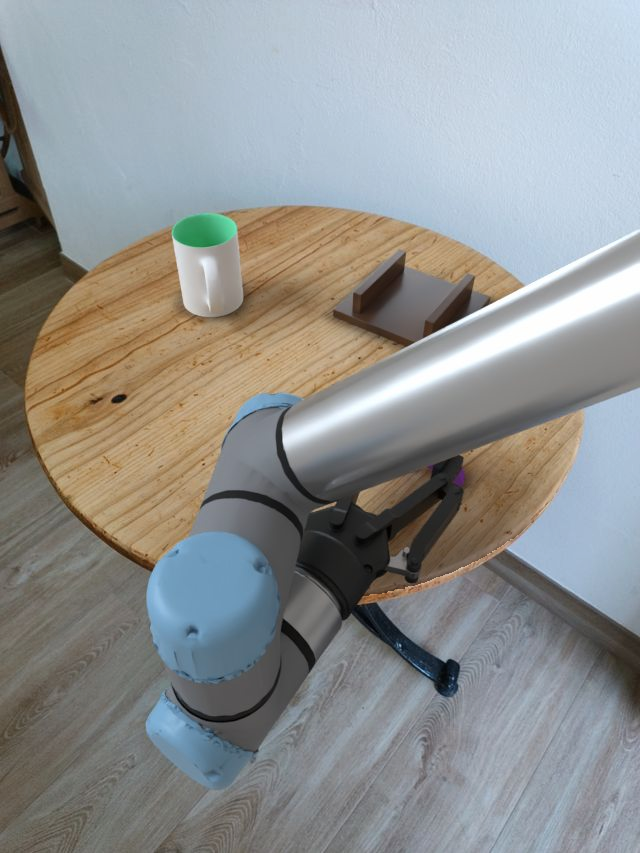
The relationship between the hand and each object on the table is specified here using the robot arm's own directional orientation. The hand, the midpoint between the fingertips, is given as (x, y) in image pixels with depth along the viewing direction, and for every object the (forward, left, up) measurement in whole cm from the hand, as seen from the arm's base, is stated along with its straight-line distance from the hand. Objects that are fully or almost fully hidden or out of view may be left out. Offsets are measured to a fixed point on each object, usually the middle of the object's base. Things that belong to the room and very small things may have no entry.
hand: (436, 422), depth 69 cm
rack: (+14, -22, -6) cm, 27 cm away
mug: (+36, -8, -6) cm, 37 cm away
